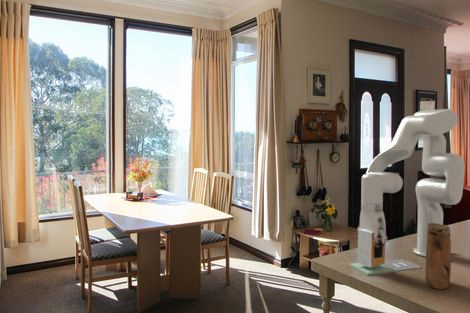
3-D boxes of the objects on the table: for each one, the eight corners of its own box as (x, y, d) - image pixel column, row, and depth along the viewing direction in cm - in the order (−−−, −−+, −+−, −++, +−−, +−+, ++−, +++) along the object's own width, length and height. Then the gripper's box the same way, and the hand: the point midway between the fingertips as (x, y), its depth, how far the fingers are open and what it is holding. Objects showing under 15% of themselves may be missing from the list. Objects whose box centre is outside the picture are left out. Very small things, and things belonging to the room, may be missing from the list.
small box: (371, 268, 141) (371, 232, 140) (357, 263, 146) (357, 229, 146) (385, 264, 146) (385, 229, 145) (371, 259, 151) (371, 226, 150)
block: (425, 277, 137) (427, 221, 136) (450, 281, 133) (451, 223, 132) (424, 288, 127) (425, 227, 126) (450, 292, 124) (451, 230, 123)
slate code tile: (403, 259, 156) (403, 259, 156) (422, 267, 147) (422, 267, 147) (377, 262, 153) (377, 262, 153) (395, 271, 143) (395, 270, 143)
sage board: (373, 262, 153) (373, 260, 153) (393, 272, 142) (393, 269, 142) (349, 265, 150) (349, 263, 149) (367, 275, 139) (367, 273, 139)
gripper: (396, 210, 138) (395, 260, 139) (365, 202, 154) (365, 246, 155) (378, 212, 135) (378, 262, 136) (349, 203, 152) (349, 248, 153)
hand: (371, 253), depth 146 cm, fingers closed on small box, 7 cm apart
